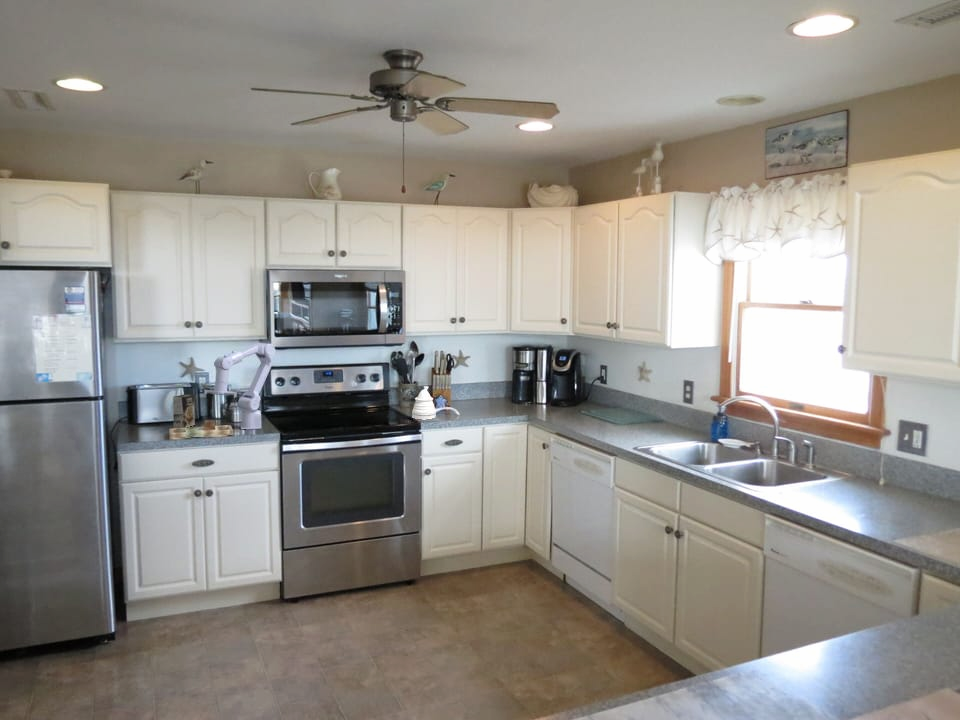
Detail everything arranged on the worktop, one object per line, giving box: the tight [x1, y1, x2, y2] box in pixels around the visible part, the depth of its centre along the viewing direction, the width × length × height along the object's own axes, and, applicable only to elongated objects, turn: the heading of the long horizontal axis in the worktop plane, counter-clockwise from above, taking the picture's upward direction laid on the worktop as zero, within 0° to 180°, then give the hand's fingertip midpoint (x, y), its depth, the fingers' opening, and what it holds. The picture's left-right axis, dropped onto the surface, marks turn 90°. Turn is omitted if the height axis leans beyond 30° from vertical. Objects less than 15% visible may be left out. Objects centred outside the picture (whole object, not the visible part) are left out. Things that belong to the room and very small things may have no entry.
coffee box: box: [172, 394, 196, 428], centre depth 369 cm, size 9×6×16 cm
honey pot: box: [411, 385, 437, 420], centre depth 401 cm, size 13×13×18 cm
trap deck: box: [168, 424, 234, 441], centre depth 354 cm, size 28×14×2 cm, turn 113°
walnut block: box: [204, 419, 216, 430], centre depth 355 cm, size 4×4×4 cm
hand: (219, 410), depth 355 cm, fingers open, 7 cm apart
